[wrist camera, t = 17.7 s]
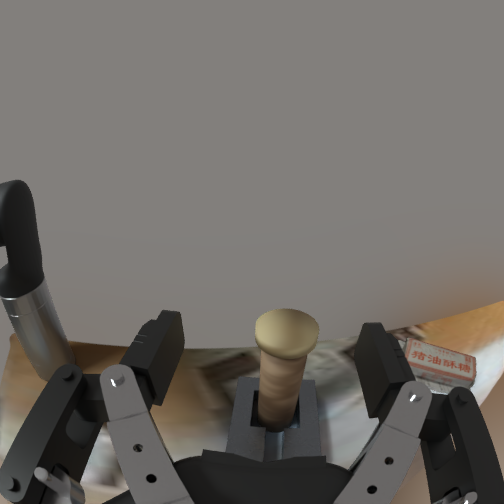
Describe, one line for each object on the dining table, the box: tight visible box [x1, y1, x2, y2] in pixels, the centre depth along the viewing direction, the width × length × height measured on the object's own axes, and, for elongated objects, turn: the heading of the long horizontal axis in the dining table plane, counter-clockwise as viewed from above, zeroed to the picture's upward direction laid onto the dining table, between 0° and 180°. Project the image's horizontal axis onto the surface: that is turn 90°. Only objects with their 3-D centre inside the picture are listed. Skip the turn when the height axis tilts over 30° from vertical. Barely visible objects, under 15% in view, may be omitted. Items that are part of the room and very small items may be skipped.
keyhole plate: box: [226, 376, 321, 462], centre depth 31 cm, size 12×15×2 cm
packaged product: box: [398, 338, 476, 394], centre depth 37 cm, size 18×5×10 cm
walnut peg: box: [255, 309, 319, 433], centre depth 30 cm, size 6×6×18 cm
